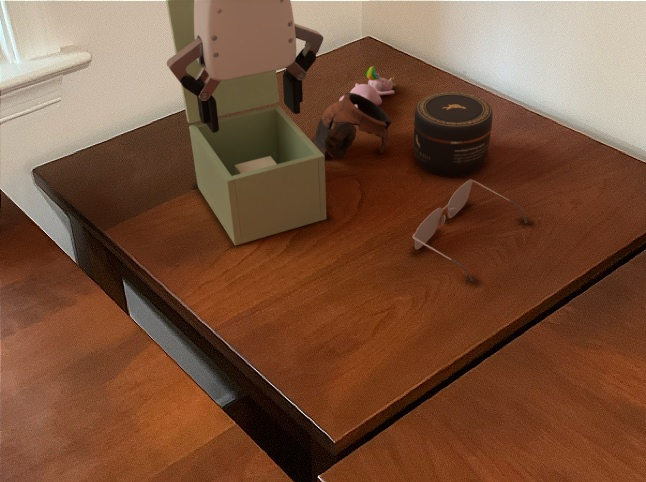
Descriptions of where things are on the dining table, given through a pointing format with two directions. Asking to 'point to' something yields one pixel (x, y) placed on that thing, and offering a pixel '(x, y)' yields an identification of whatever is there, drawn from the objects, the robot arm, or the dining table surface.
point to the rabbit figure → (374, 87)
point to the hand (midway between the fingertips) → (252, 117)
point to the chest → (259, 174)
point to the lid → (228, 92)
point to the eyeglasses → (454, 206)
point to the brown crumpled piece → (350, 125)
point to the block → (254, 165)
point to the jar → (452, 133)
